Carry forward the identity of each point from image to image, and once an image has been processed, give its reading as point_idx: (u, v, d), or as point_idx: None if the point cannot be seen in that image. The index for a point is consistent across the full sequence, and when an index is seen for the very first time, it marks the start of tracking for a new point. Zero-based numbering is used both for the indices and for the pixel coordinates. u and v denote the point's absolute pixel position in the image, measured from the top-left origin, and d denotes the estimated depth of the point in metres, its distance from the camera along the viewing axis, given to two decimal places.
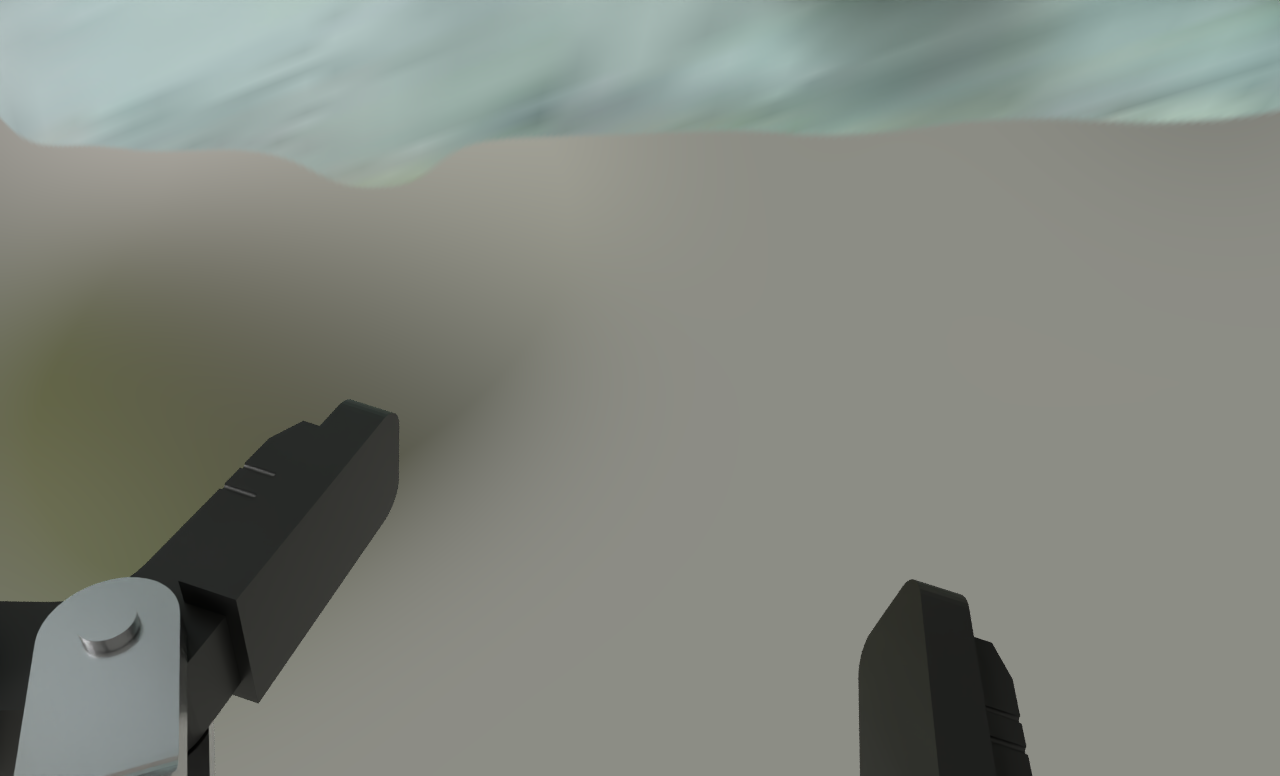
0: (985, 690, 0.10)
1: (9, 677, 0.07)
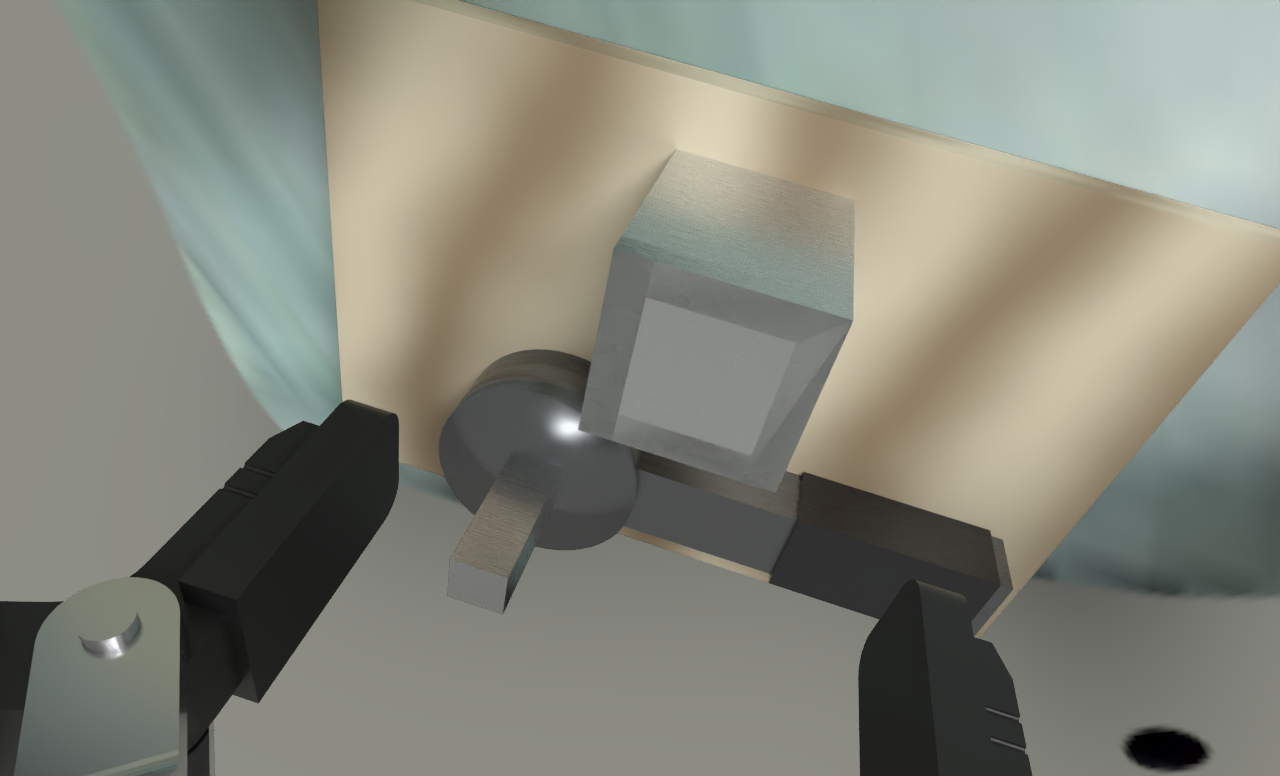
0: (985, 690, 0.10)
1: (9, 677, 0.07)
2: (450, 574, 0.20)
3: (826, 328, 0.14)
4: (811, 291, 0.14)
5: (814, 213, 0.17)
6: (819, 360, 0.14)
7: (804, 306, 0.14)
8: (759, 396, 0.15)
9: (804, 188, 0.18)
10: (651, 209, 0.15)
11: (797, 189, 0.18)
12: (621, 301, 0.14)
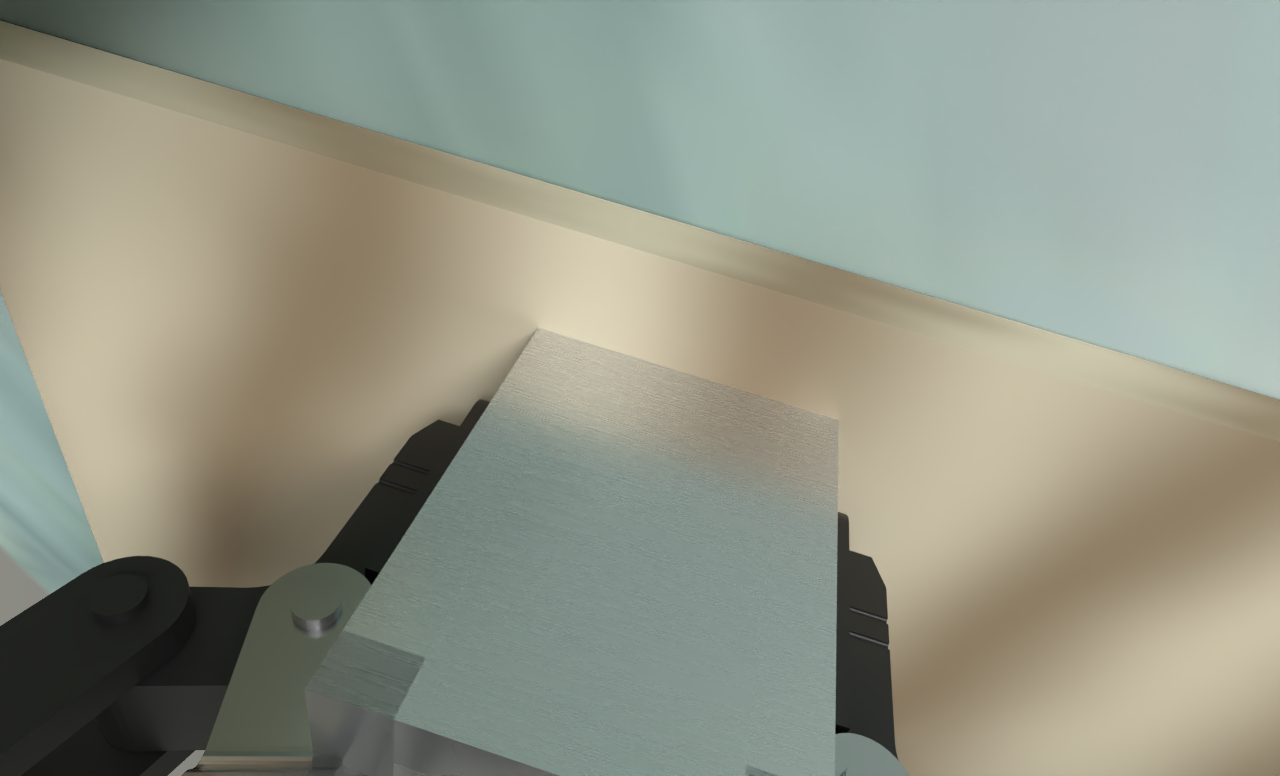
0: (859, 596, 0.10)
1: (202, 682, 0.08)
2: None
3: None
4: (746, 752, 0.07)
5: (766, 471, 0.10)
6: None
7: None
8: None
9: (753, 401, 0.11)
10: (441, 517, 0.08)
11: (740, 405, 0.11)
12: (348, 759, 0.07)
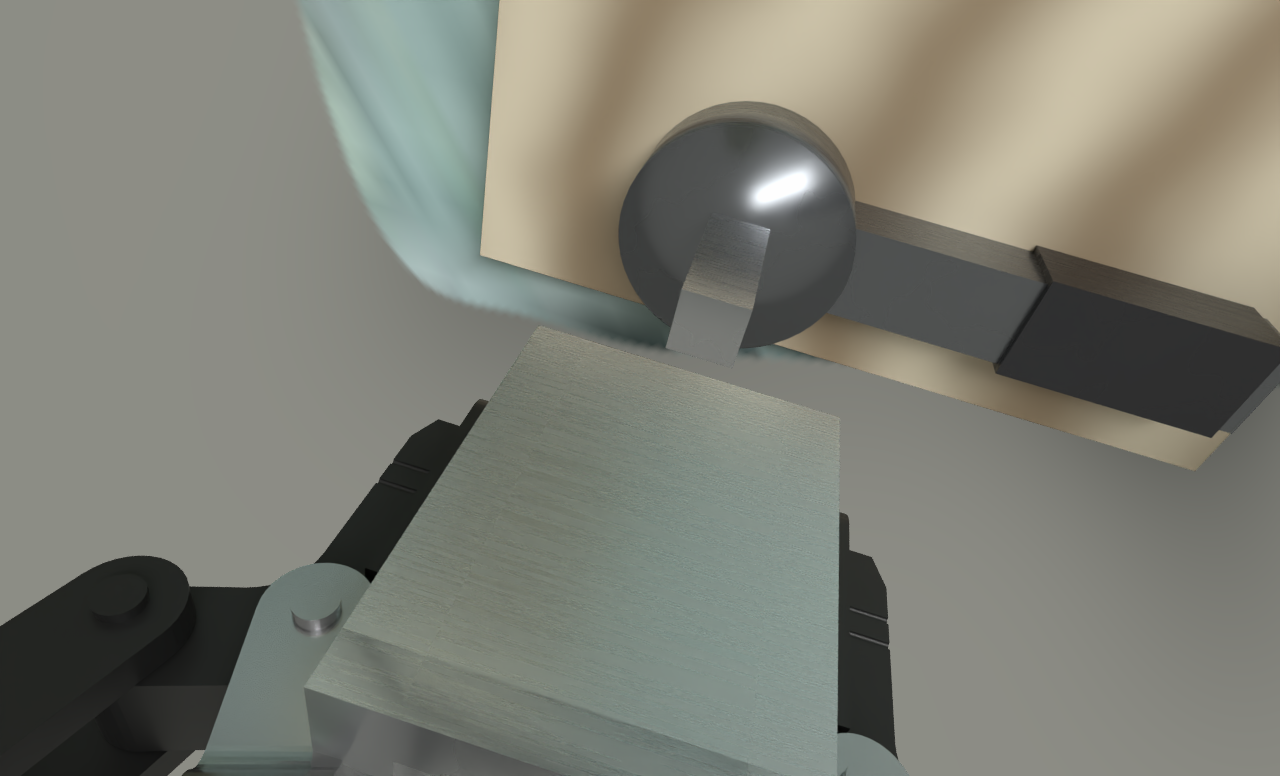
0: (859, 596, 0.10)
1: (202, 682, 0.08)
2: (677, 313, 0.16)
3: None
4: (747, 749, 0.07)
5: (767, 469, 0.10)
6: None
7: None
8: None
9: (754, 399, 0.11)
10: (441, 514, 0.08)
11: (741, 402, 0.10)
12: (348, 757, 0.07)
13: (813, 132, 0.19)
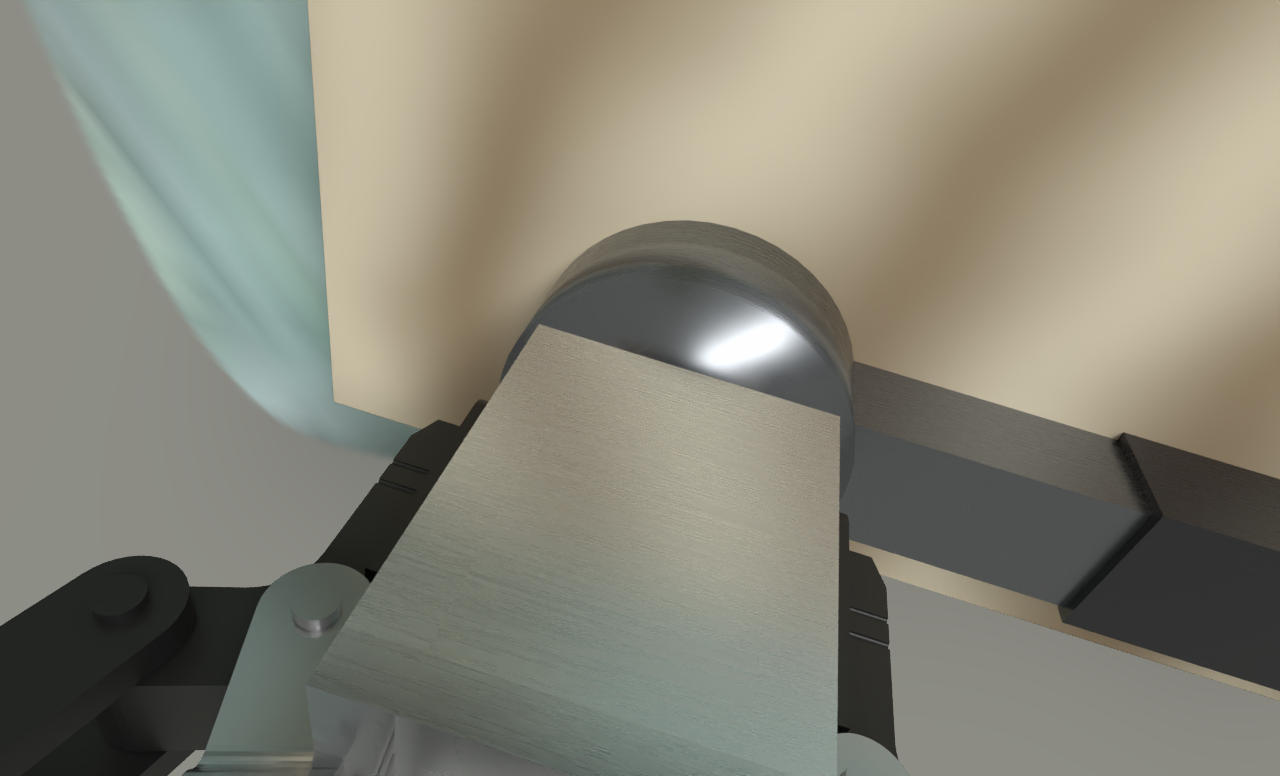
0: (859, 596, 0.10)
1: (202, 682, 0.08)
2: None
3: None
4: (748, 747, 0.07)
5: (767, 467, 0.10)
6: None
7: None
8: None
9: (754, 398, 0.11)
10: (442, 513, 0.08)
11: (741, 402, 0.10)
12: (348, 756, 0.07)
13: (789, 276, 0.13)
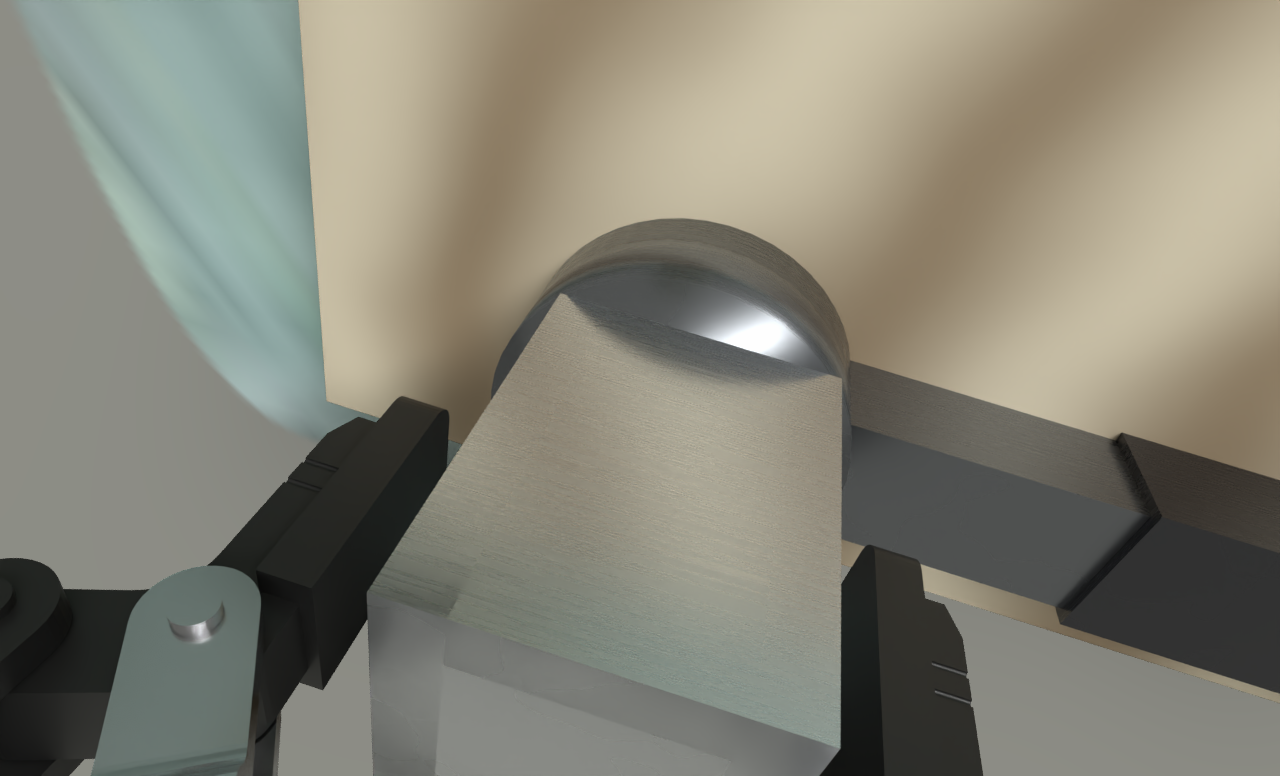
0: (935, 648, 0.10)
1: (90, 672, 0.07)
2: None
3: (789, 751, 0.07)
4: (760, 654, 0.07)
5: (775, 421, 0.10)
6: None
7: (743, 710, 0.07)
8: None
9: (761, 360, 0.11)
10: (479, 454, 0.09)
11: (749, 364, 0.11)
12: (401, 664, 0.08)
13: (785, 274, 0.12)
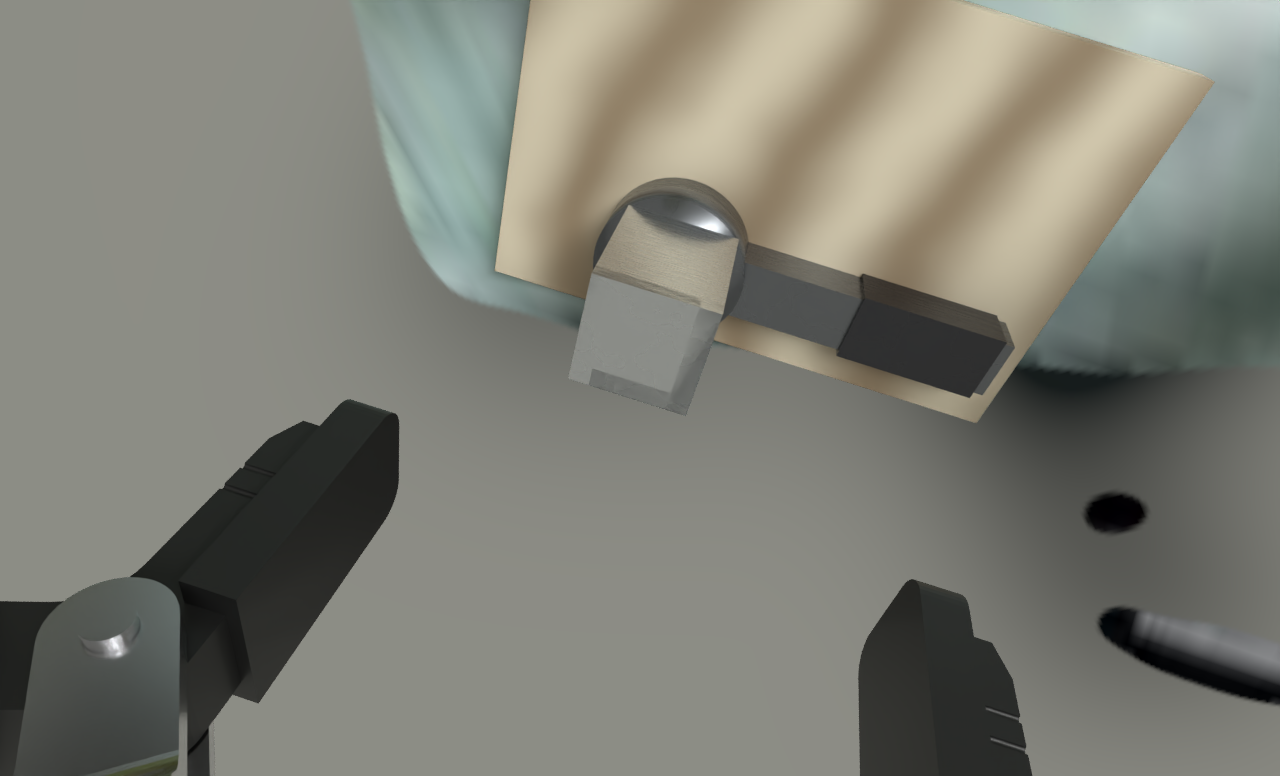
0: (985, 690, 0.10)
1: (9, 677, 0.07)
2: None
3: (709, 319, 0.25)
4: (702, 298, 0.25)
5: (711, 249, 0.28)
6: (706, 336, 0.25)
7: (696, 306, 0.25)
8: (674, 357, 0.26)
9: (707, 231, 0.29)
10: (612, 248, 0.26)
11: (703, 232, 0.29)
12: (595, 302, 0.25)
13: (718, 200, 0.30)
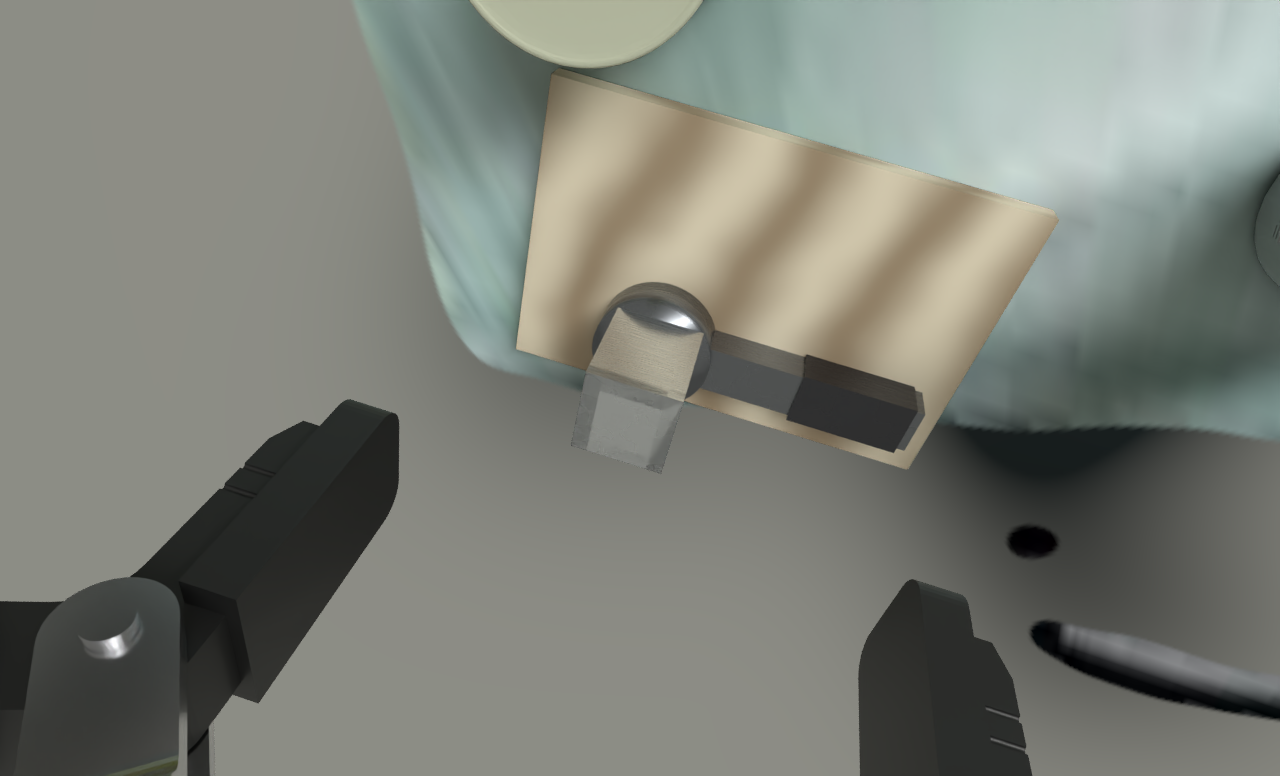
0: (985, 690, 0.10)
1: (9, 677, 0.07)
2: None
3: (674, 405, 0.33)
4: (669, 388, 0.34)
5: (680, 343, 0.37)
6: (672, 417, 0.34)
7: (664, 396, 0.33)
8: (649, 431, 0.35)
9: (679, 327, 0.38)
10: (603, 348, 0.35)
11: (675, 328, 0.38)
12: (589, 392, 0.34)
13: (689, 301, 0.39)
